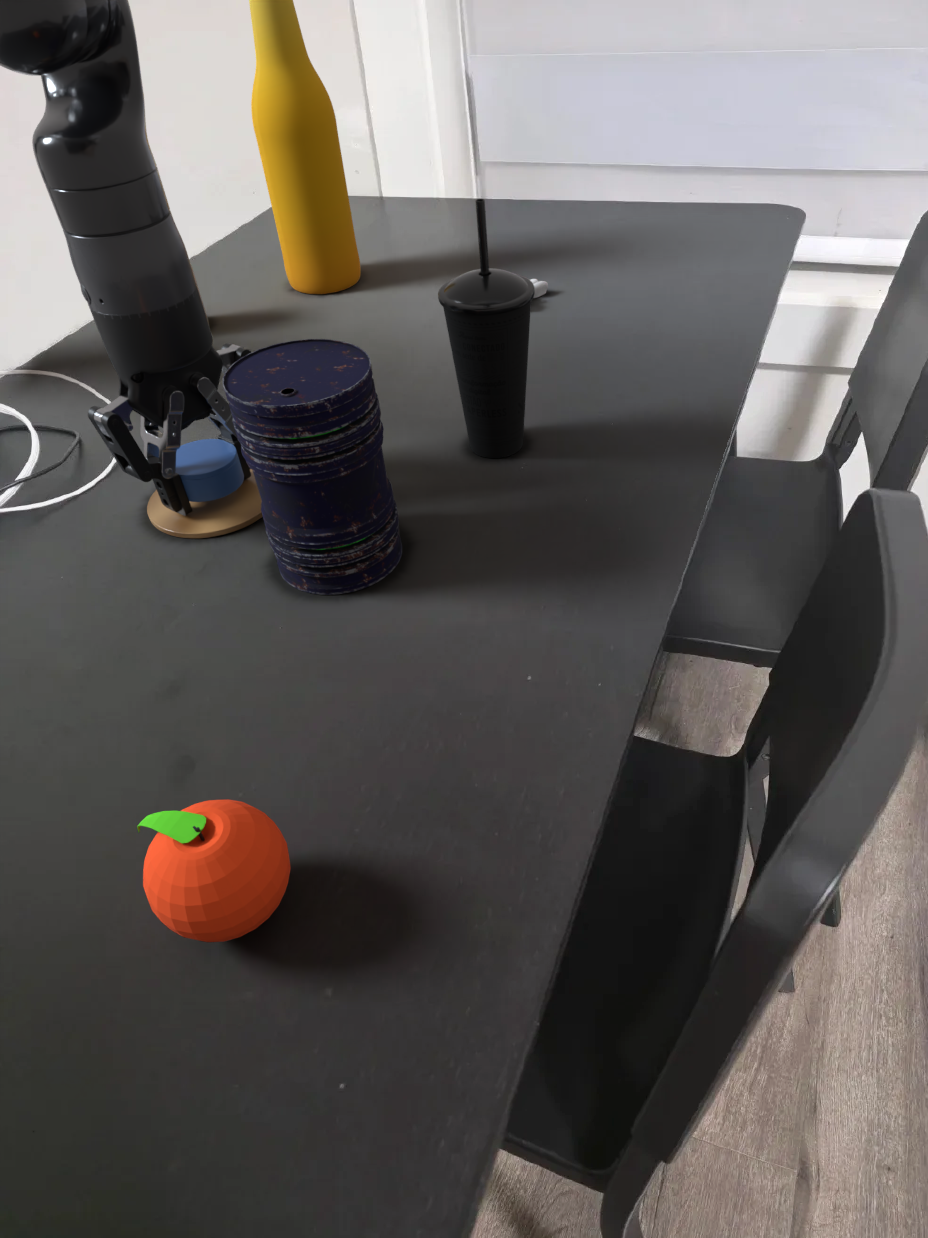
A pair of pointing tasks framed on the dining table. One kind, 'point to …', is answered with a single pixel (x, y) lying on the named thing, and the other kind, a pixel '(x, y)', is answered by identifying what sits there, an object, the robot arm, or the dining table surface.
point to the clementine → (215, 869)
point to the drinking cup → (490, 349)
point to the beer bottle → (301, 155)
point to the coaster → (209, 513)
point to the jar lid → (209, 469)
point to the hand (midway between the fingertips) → (212, 492)
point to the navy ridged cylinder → (317, 462)
